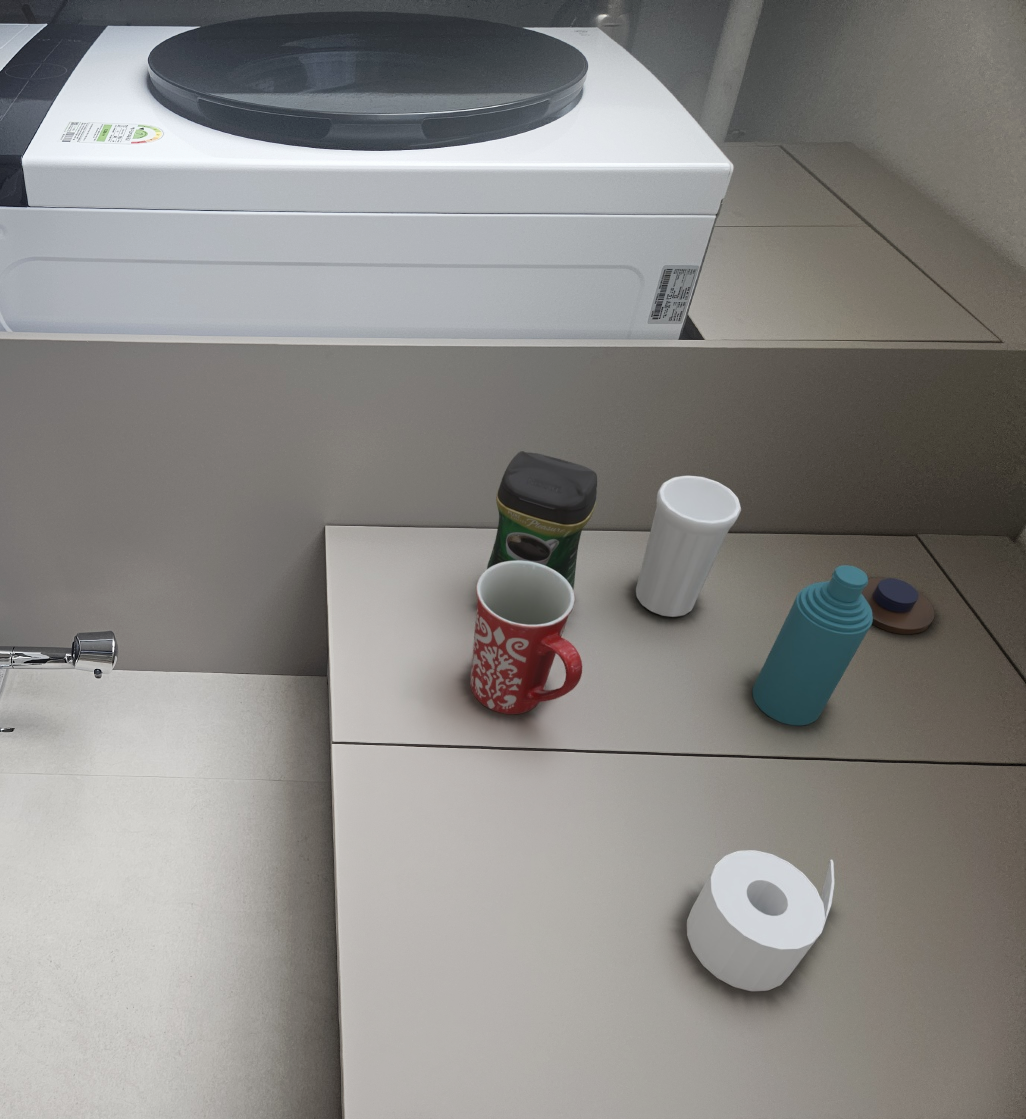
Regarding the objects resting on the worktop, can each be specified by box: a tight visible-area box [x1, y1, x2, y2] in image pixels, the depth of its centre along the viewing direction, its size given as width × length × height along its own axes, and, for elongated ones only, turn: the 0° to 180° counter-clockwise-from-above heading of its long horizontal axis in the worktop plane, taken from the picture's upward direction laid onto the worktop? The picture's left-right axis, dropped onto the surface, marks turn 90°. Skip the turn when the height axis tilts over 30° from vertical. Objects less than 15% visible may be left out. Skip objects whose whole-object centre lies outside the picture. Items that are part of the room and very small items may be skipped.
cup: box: [635, 475, 742, 618], centre depth 103 cm, size 8×8×14 cm
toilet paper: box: [686, 849, 835, 992], centre depth 77 cm, size 8×11×7 cm
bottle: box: [751, 564, 873, 726], centre depth 91 cm, size 6×6×17 cm
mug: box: [469, 561, 583, 715], centre depth 93 cm, size 13×9×14 cm
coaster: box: [861, 577, 935, 635], centre depth 106 cm, size 8×8×1 cm
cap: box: [873, 577, 919, 613], centre depth 106 cm, size 4×4×2 cm
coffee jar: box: [485, 450, 598, 591], centre depth 102 cm, size 10×8×19 cm
